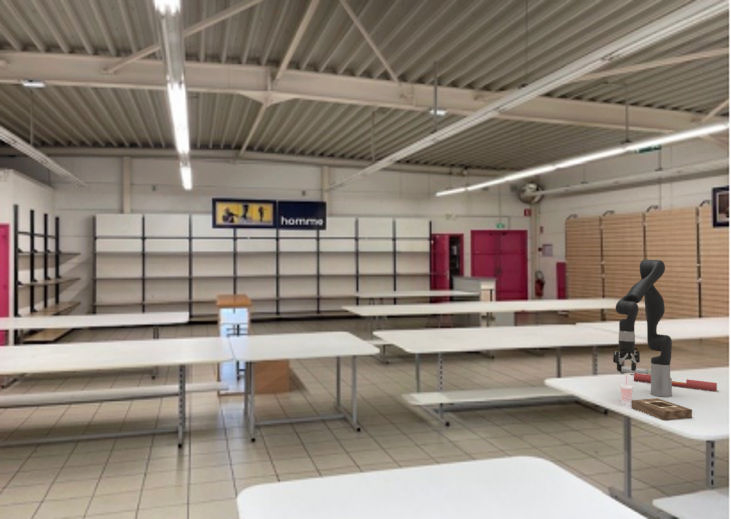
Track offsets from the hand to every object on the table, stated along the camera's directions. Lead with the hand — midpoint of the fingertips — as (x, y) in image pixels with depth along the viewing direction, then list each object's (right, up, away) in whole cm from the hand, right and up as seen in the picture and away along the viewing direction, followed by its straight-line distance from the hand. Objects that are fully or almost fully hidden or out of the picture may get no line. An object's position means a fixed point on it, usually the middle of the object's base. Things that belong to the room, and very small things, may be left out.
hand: (626, 371), depth 263 cm
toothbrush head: (+41, -18, +66) cm, 79 cm away
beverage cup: (0, -17, 0) cm, 17 cm away
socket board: (+8, -17, -16) cm, 25 cm away
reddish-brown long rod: (+48, -18, +39) cm, 64 cm away
